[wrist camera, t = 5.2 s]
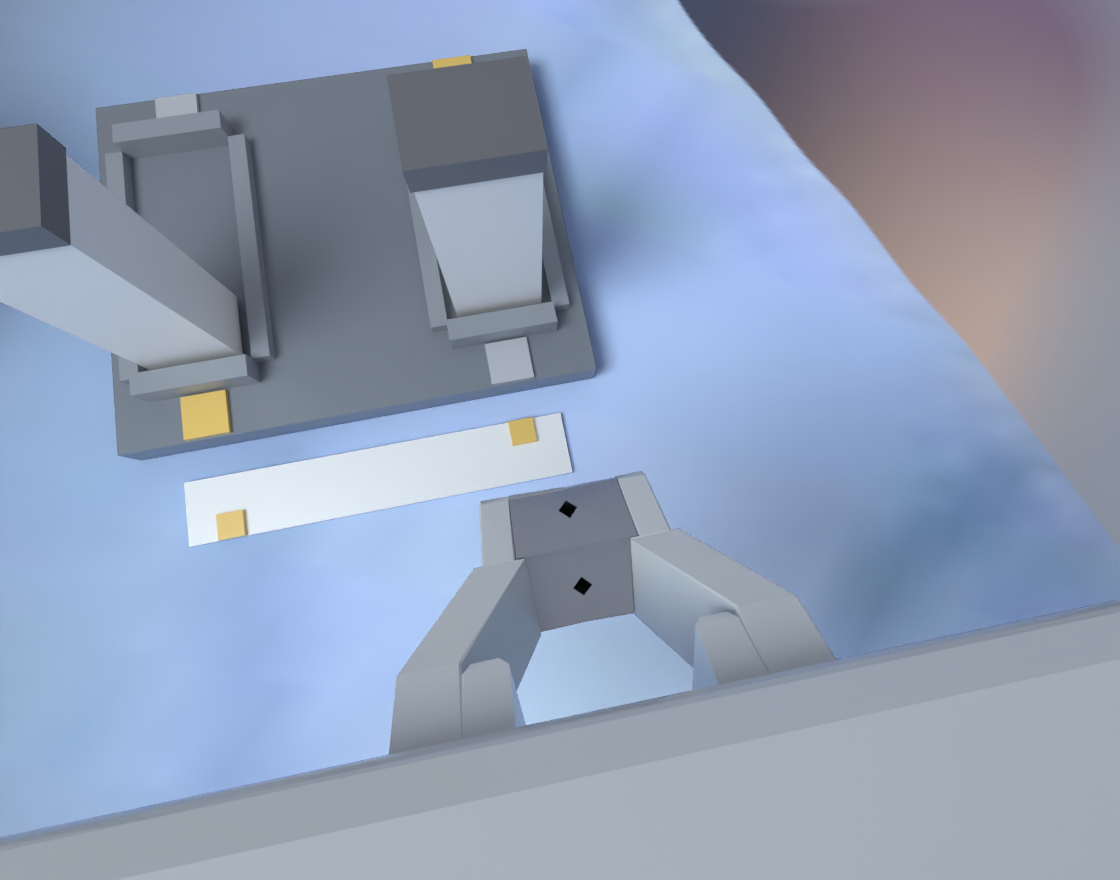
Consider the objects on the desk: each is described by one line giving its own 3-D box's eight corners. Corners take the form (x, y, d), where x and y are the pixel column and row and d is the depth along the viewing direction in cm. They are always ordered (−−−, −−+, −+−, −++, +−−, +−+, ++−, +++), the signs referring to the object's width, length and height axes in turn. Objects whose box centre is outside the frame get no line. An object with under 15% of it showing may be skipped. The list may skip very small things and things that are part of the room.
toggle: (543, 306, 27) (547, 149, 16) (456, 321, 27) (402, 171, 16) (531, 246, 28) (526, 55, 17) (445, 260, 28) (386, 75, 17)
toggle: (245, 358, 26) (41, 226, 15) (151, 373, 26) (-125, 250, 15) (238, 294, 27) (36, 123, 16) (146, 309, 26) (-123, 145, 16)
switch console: (612, 465, 28) (620, 456, 25) (147, 555, 26) (103, 556, 24) (526, 71, 32) (525, 28, 29) (117, 129, 30) (76, 89, 27)
